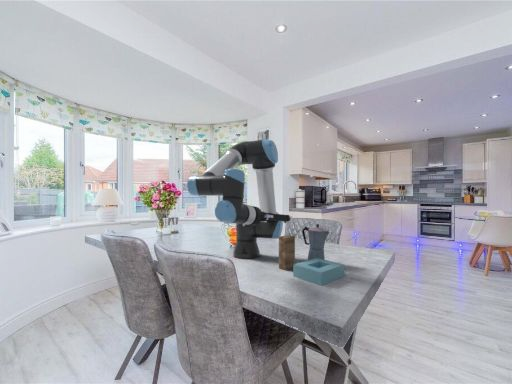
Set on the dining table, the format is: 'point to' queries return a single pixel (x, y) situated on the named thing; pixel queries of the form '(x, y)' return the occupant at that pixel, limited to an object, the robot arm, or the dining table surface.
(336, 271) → the slotted base
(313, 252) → the moka pot
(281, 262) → the walnut board
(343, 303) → the dining table surface
